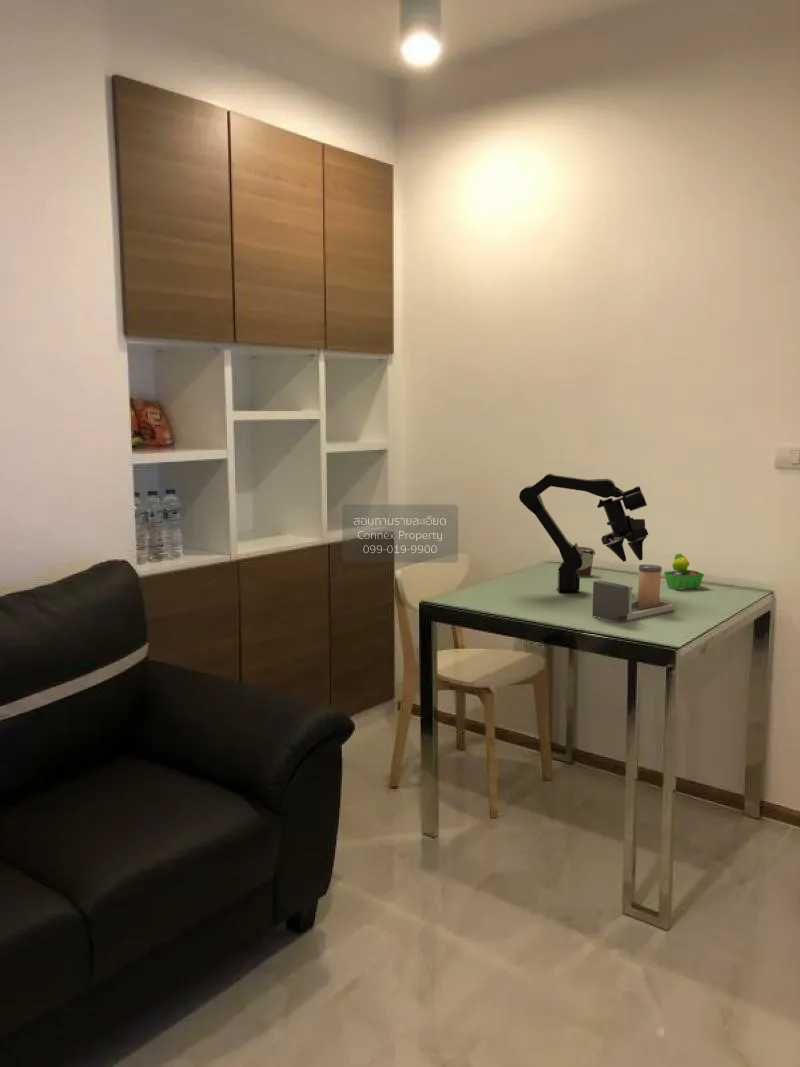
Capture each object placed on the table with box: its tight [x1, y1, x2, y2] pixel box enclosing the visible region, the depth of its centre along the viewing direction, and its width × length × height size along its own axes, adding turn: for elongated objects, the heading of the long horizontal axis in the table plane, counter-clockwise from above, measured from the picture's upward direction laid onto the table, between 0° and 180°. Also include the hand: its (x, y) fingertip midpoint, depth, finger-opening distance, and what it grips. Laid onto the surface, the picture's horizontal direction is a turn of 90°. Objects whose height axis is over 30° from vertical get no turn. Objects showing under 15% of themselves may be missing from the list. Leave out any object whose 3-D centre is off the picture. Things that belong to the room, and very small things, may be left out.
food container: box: [562, 546, 596, 577], centre depth 318 cm, size 12×6×10 cm, turn 84°
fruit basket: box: [663, 552, 705, 590], centre depth 295 cm, size 11×9×11 cm
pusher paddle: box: [611, 582, 634, 614], centre depth 256 cm, size 1×8×9 cm, turn 35°
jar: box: [637, 564, 663, 610], centre depth 263 cm, size 7×7×13 cm
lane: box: [591, 579, 675, 624], centre depth 259 cm, size 24×10×10 cm, turn 125°
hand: (632, 560), depth 284 cm, fingers open, 9 cm apart
